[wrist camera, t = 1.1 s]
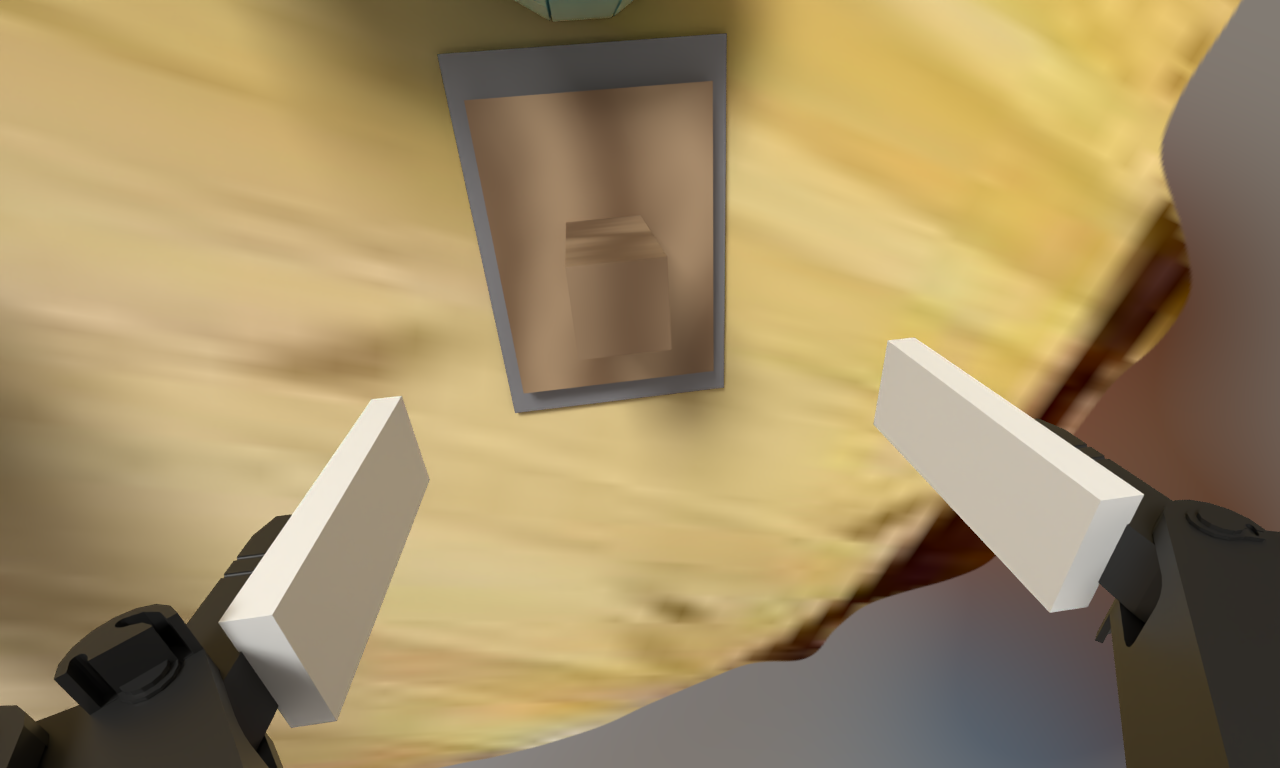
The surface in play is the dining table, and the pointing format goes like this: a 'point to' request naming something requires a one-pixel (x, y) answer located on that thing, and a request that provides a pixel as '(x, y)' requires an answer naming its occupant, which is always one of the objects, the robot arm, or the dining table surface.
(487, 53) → the charcoal mat
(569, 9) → the teal bowl
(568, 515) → the dining table surface
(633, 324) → the walnut lid
